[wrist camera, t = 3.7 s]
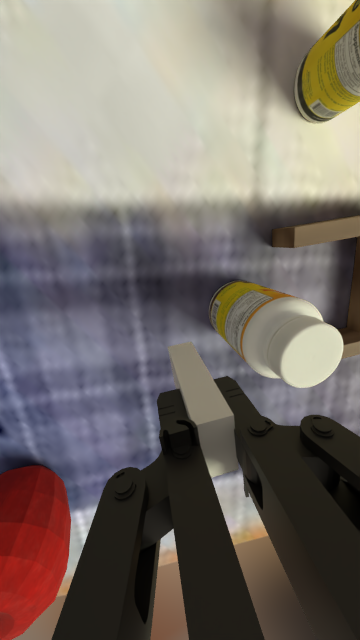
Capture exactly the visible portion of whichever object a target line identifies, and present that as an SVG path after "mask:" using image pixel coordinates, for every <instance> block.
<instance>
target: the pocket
mask: <svg viewBox="0 0 360 640" xmlns="http://www.w3.org/2000/svg"><path fill="white" fill-rule="evenodd" d="M353 237H357V245H356V253H355V262H354V270H353V279H352V287H351V295H350V304H349V312H348V320H347V327H346V328H342V329H338V331H339V332H340V334H341V336H342V339H343V353H342V357H341V359H343V358H347V357H351V356H355V355H359V354H360V215H357V216H351V217H345V218H339V219H333V220H327V221H321V222H314V223H308V224H302V225H296V226H290V227H284V228H278V229H272V247H284V248H296V247H302V246H308V245H313V244H319V243H324V242H330V241H336V240H341V239H347V238H353Z"/></svg>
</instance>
